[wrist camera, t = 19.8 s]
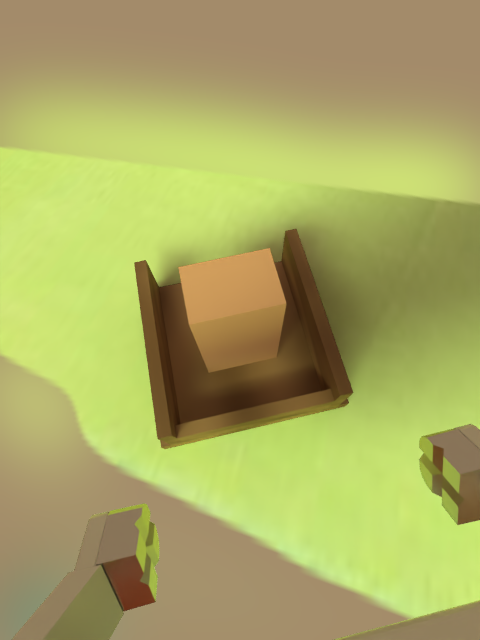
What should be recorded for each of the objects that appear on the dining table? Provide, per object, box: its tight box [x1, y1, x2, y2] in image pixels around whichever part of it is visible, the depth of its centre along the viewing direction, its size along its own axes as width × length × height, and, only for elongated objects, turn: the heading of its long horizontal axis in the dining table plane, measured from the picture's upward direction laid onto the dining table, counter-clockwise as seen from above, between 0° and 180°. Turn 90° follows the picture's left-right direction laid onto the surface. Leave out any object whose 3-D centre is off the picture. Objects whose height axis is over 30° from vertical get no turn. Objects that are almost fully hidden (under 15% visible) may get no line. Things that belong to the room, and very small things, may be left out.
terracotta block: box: [178, 248, 286, 373], centre depth 24 cm, size 5×3×9 cm
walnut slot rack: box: [134, 229, 353, 449], centre depth 27 cm, size 13×12×5 cm
